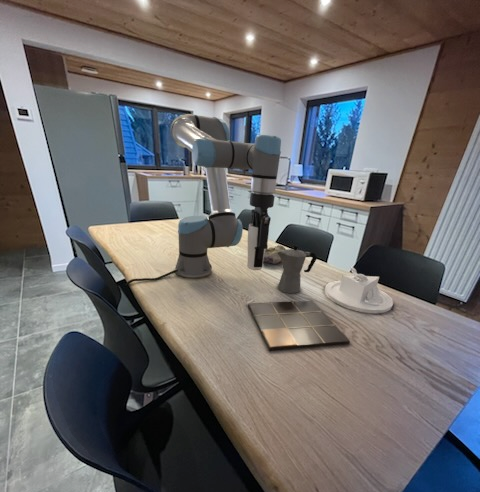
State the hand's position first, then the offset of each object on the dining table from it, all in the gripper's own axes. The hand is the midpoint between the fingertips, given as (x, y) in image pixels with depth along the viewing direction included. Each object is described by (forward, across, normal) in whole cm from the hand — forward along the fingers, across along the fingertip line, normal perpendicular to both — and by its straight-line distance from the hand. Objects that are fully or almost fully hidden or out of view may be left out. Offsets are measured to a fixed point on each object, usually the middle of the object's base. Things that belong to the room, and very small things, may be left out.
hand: (255, 263), depth 91 cm
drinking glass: (+2, 0, 0) cm, 2 cm away
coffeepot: (+14, +6, -18) cm, 23 cm away
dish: (+13, -3, -42) cm, 44 cm away
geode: (+14, +38, -20) cm, 45 cm away
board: (+13, -18, -9) cm, 24 cm away
